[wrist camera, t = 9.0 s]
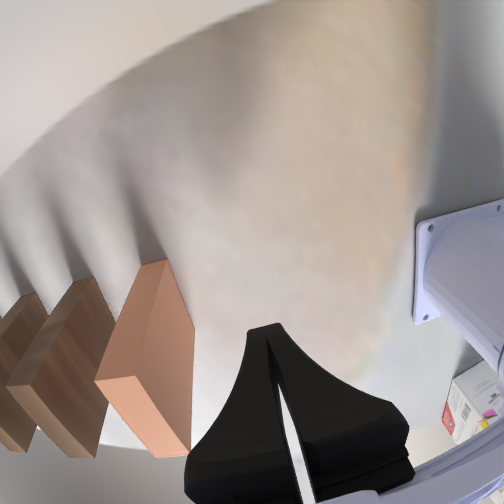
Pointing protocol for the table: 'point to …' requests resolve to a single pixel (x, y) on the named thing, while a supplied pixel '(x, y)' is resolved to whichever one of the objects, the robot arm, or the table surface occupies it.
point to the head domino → (152, 363)
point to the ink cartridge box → (473, 406)
